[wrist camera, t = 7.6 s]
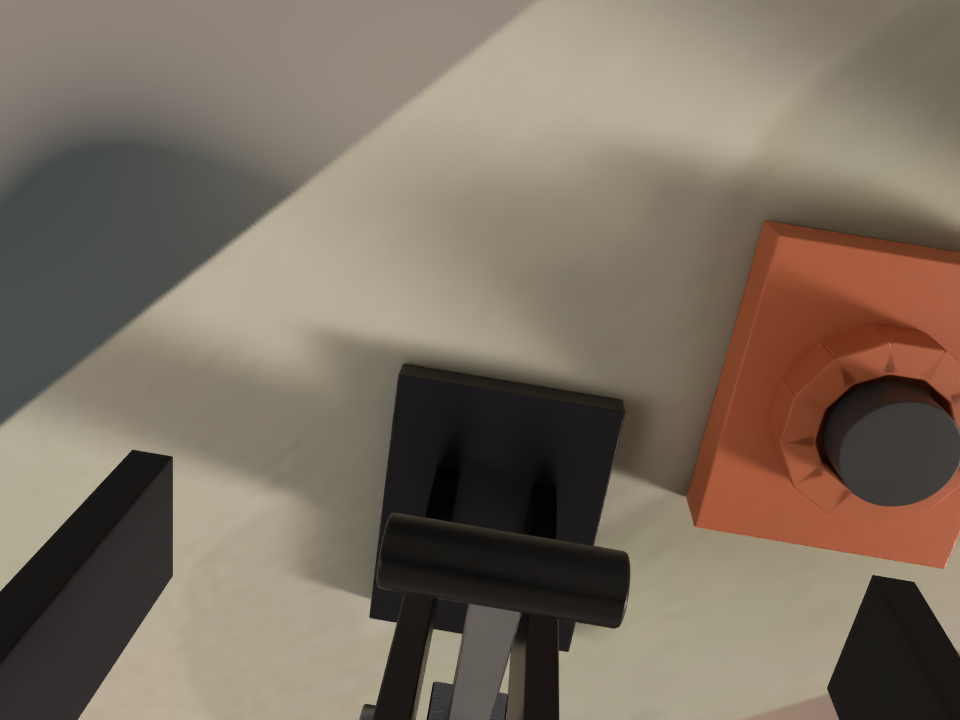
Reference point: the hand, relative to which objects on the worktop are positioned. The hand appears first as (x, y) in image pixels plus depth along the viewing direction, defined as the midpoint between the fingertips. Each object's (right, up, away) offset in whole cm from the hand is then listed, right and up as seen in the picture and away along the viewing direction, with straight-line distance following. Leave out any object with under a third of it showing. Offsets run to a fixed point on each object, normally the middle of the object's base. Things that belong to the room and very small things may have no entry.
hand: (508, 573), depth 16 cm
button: (+14, +1, +14) cm, 20 cm away
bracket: (0, -2, +21) cm, 21 cm away
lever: (0, -3, +6) cm, 7 cm away
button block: (+14, +3, +17) cm, 22 cm away
